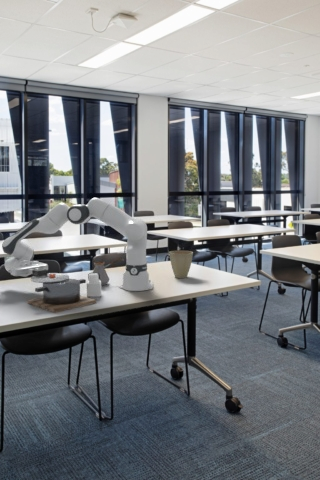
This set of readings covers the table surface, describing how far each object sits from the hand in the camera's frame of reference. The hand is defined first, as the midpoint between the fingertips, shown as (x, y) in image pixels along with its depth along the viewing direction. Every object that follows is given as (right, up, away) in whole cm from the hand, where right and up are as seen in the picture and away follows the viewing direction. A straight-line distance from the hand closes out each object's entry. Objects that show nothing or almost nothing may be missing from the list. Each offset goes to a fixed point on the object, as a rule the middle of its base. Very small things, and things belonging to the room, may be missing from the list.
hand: (37, 271), depth 242 cm
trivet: (+16, -15, -14) cm, 26 cm away
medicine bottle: (+30, -13, +2) cm, 33 cm away
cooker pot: (+16, -13, -14) cm, 25 cm away
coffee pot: (+34, -9, +30) cm, 46 cm away
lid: (+8, -3, -7) cm, 11 cm away
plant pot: (+78, -7, +47) cm, 92 cm away
